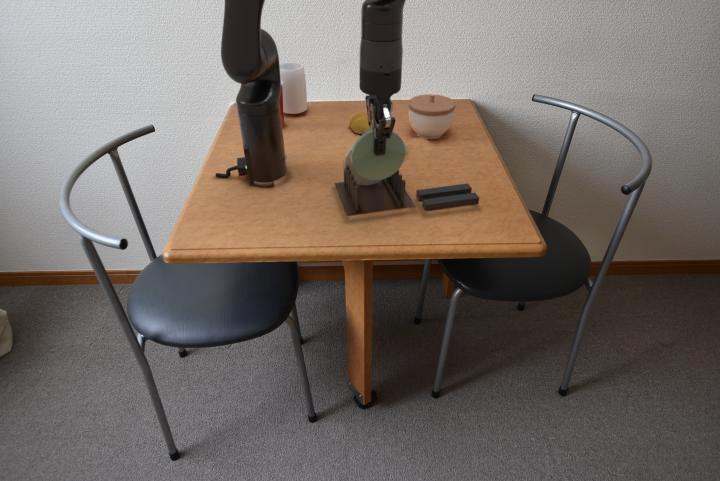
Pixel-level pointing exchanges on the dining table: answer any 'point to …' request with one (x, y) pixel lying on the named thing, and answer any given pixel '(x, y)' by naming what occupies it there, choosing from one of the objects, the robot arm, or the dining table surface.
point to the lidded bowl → (430, 115)
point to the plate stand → (447, 197)
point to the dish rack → (372, 194)
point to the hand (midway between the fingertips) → (378, 152)
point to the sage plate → (377, 165)
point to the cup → (293, 87)
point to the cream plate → (357, 177)
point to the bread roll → (360, 123)
